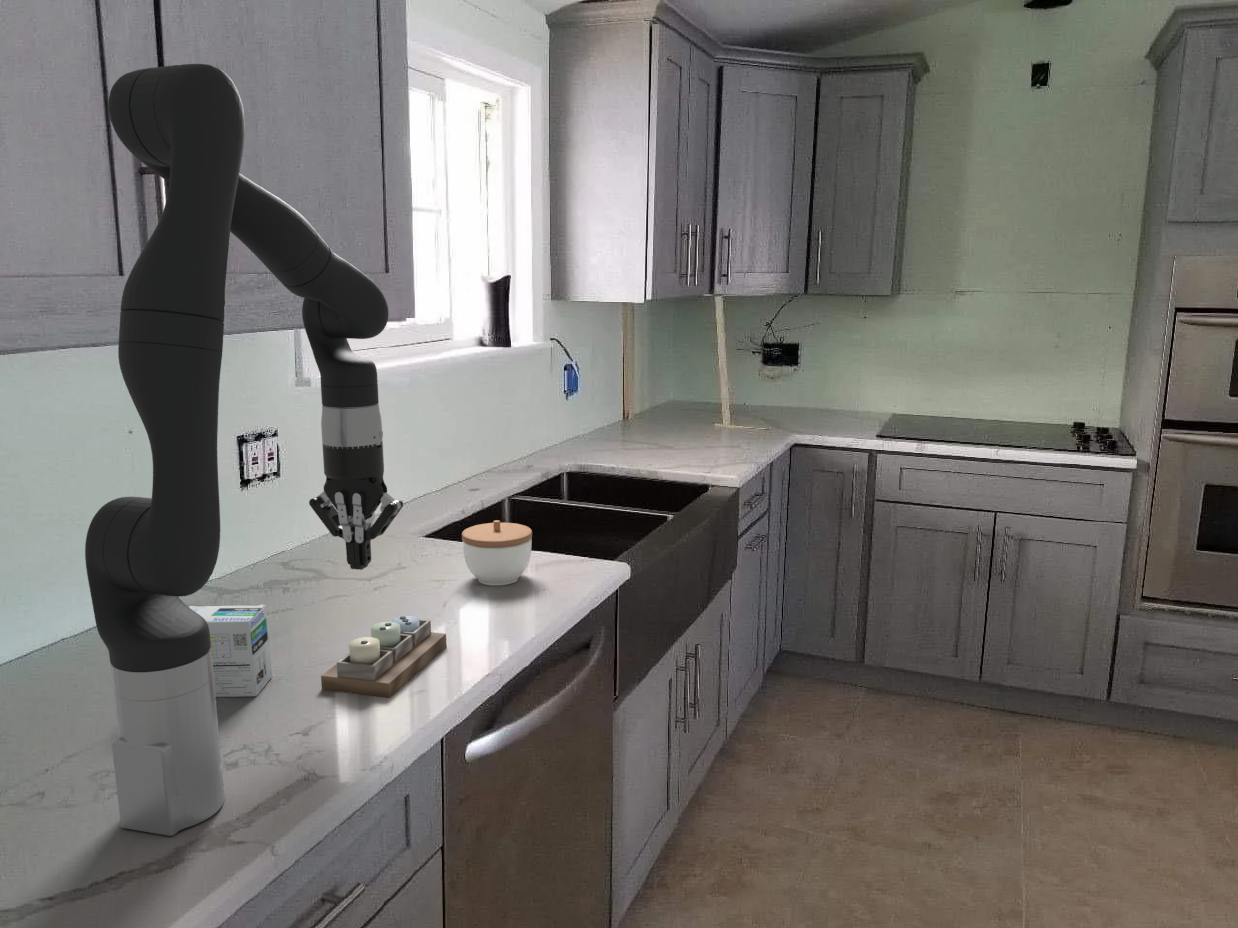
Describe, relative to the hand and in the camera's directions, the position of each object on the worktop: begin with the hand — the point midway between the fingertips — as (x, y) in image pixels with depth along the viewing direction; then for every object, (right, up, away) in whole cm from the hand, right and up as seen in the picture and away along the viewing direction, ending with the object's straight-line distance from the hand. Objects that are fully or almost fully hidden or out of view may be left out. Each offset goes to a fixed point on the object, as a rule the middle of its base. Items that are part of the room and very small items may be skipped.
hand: (359, 567), depth 126 cm
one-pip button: (0, -13, +3) cm, 13 cm away
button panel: (+2, -15, +9) cm, 18 cm away
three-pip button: (+3, -12, +14) cm, 19 cm away
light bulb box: (-19, -17, +3) cm, 25 cm away
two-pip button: (+2, -12, +8) cm, 14 cm away
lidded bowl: (+12, -8, +47) cm, 50 cm away
